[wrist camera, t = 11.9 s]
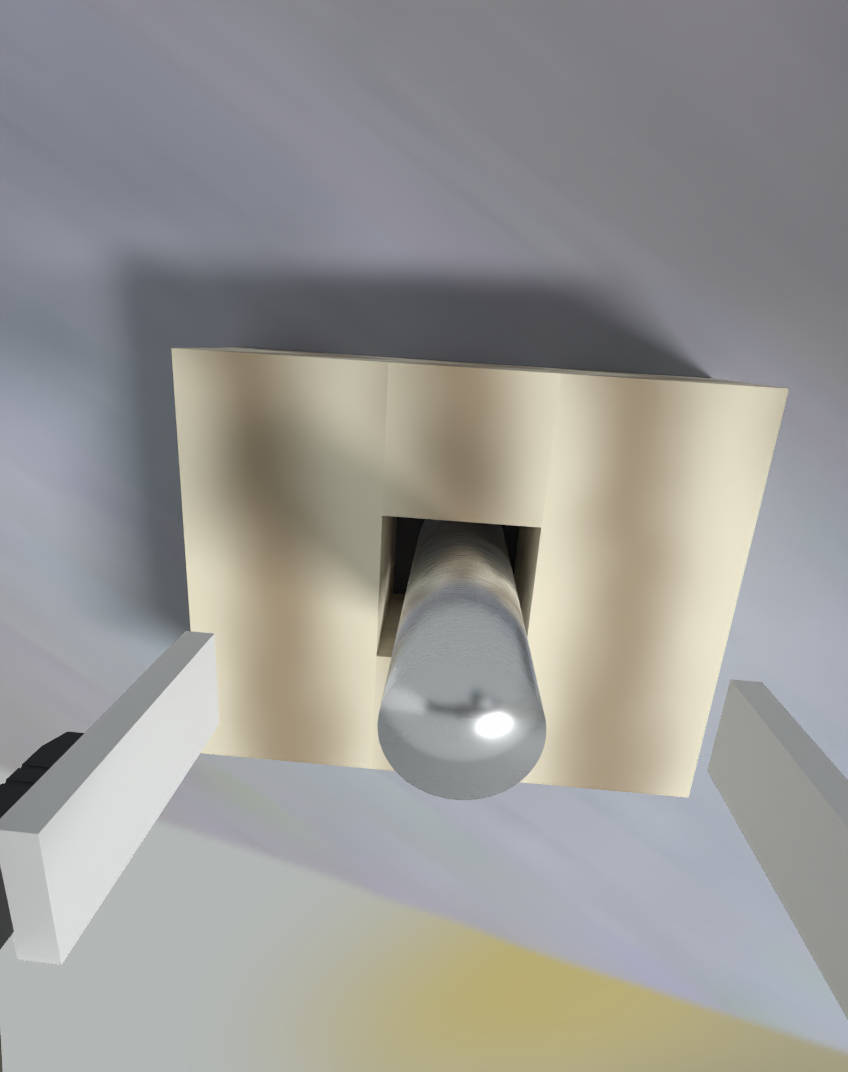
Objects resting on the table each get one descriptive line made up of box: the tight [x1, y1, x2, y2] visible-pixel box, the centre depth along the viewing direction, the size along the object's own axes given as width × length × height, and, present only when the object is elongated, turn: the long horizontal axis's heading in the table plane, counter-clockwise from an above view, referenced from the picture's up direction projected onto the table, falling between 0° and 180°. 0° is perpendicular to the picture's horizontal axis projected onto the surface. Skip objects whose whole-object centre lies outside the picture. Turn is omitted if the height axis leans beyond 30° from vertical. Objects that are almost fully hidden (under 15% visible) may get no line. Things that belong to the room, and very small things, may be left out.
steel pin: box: [377, 519, 546, 800], centre depth 21 cm, size 4×4×14 cm
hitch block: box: [171, 347, 789, 797], centre depth 24 cm, size 20×16×6 cm
